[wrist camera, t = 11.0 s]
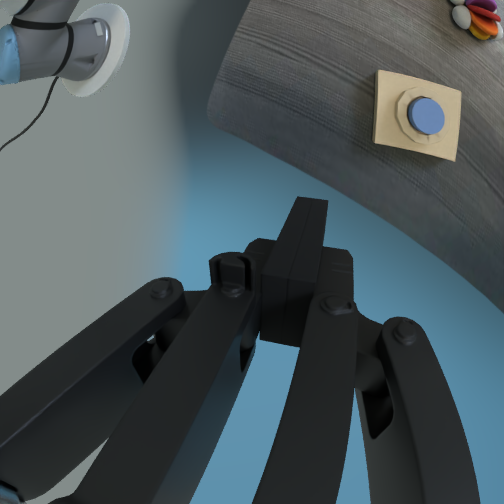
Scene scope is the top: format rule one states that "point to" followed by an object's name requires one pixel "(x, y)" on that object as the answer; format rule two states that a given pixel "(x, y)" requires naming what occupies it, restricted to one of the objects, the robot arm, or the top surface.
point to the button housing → (397, 121)
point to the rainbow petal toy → (478, 18)
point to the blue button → (426, 115)
